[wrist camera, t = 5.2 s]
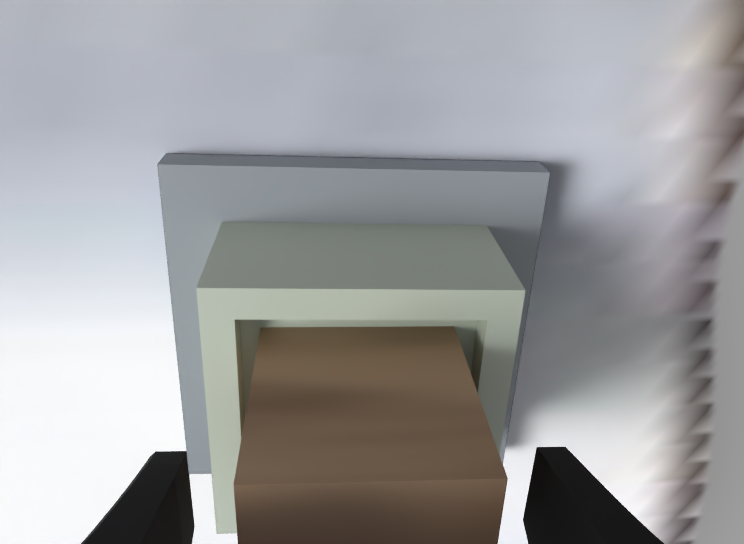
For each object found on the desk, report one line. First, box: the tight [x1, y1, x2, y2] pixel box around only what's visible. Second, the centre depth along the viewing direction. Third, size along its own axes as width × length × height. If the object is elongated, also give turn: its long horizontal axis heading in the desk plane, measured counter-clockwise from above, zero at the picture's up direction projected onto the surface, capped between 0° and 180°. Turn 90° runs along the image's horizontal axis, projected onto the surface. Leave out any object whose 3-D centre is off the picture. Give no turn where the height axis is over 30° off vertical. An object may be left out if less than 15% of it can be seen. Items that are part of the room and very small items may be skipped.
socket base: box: [157, 154, 550, 534], centre depth 18 cm, size 10×10×5 cm
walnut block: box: [233, 326, 508, 544], centre depth 14 cm, size 4×4×5 cm
